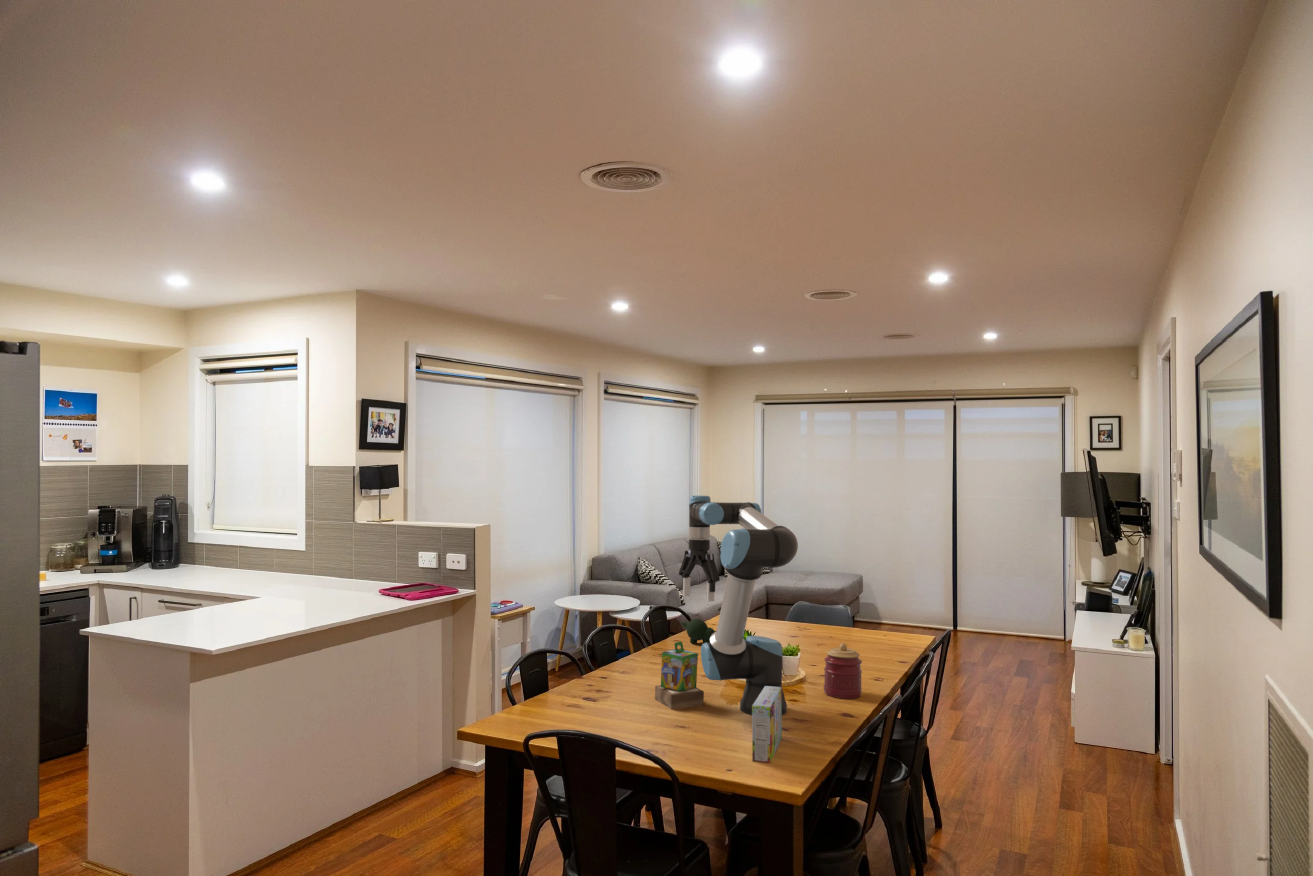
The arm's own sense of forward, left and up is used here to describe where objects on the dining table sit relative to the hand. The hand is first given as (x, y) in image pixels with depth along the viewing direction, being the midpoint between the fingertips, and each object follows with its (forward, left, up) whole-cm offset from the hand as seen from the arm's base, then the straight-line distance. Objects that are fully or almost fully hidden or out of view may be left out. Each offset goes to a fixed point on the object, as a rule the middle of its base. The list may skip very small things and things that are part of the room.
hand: (698, 598), depth 293 cm
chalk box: (-10, +16, -27) cm, 33 cm away
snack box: (-60, +23, -32) cm, 72 cm away
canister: (-33, -39, -32) cm, 60 cm away
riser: (-10, +16, -32) cm, 37 cm away
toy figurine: (+53, -49, -32) cm, 79 cm away
